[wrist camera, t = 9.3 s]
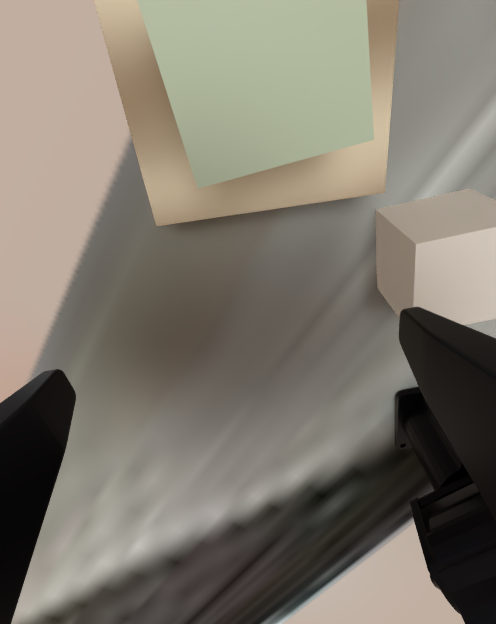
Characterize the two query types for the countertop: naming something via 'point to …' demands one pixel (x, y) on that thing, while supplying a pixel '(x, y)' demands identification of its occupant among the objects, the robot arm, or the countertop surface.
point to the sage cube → (262, 80)
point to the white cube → (439, 255)
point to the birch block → (254, 187)
